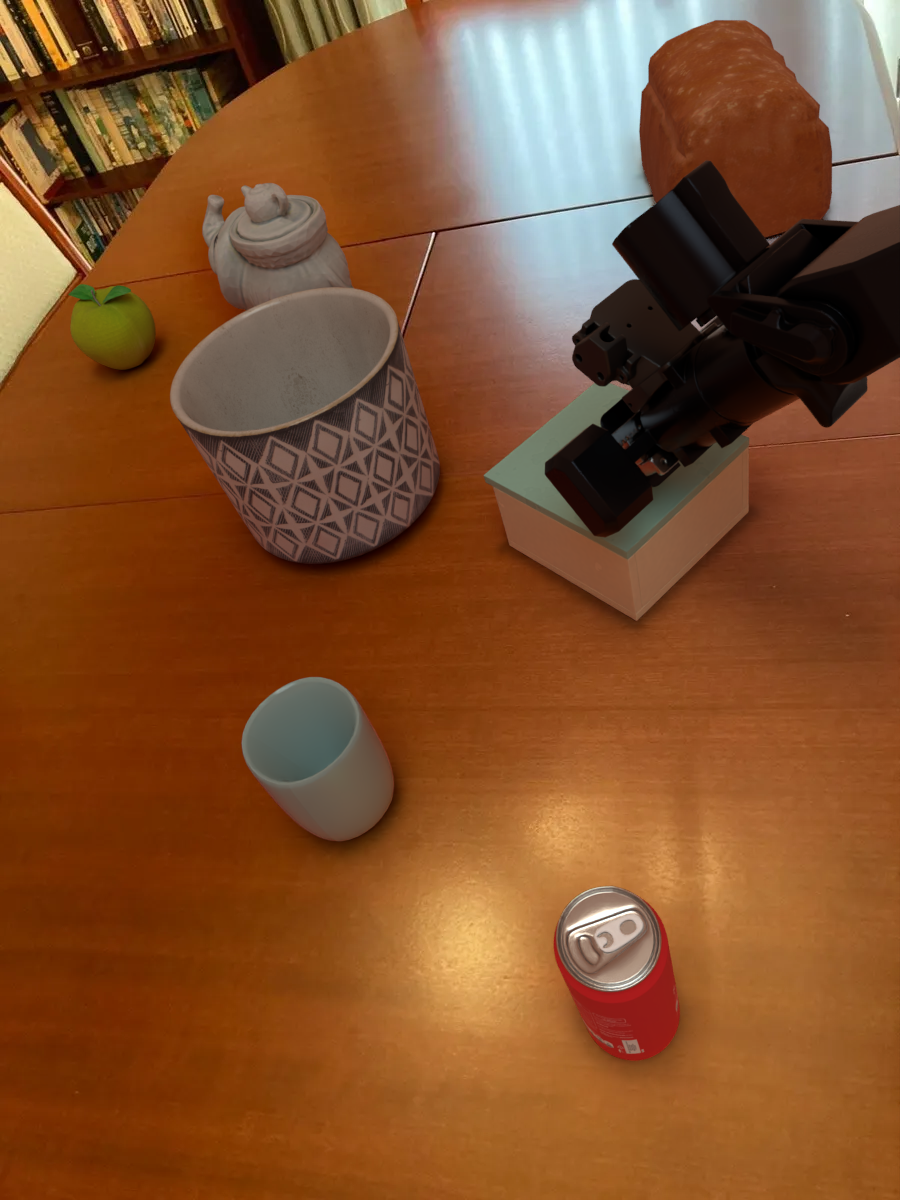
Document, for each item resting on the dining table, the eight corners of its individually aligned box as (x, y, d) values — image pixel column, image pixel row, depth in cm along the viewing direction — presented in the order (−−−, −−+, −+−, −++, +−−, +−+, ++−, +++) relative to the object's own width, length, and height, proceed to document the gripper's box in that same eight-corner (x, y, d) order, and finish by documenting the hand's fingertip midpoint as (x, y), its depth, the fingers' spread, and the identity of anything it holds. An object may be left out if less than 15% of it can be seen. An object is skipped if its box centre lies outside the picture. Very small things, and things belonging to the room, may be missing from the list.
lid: (485, 482, 69) (483, 475, 68) (600, 386, 73) (599, 378, 73) (627, 559, 60) (626, 552, 60) (749, 445, 64) (749, 437, 64)
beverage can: (568, 992, 50) (531, 913, 41) (648, 948, 50) (627, 861, 42) (615, 1084, 46) (585, 1019, 38) (700, 1036, 47) (690, 960, 38)
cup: (341, 880, 58) (283, 810, 50) (279, 808, 63) (218, 735, 55) (429, 799, 60) (385, 721, 53) (362, 735, 65) (314, 655, 57)
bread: (778, 128, 108) (782, -10, 97) (837, 223, 92) (850, 70, 81) (637, 164, 111) (625, 34, 100) (671, 262, 95) (661, 119, 84)
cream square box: (509, 545, 74) (492, 486, 69) (616, 451, 78) (607, 389, 73) (636, 621, 65) (627, 560, 60) (749, 511, 69) (749, 446, 64)
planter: (481, 443, 83) (436, 287, 71) (394, 597, 73) (324, 445, 61) (314, 427, 91) (249, 285, 79) (215, 563, 81) (123, 424, 69)
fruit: (129, 337, 115) (87, 267, 107) (182, 341, 110) (142, 269, 103) (85, 381, 110) (38, 311, 103) (138, 387, 106) (92, 315, 98)
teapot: (247, 321, 110) (176, 171, 96) (362, 283, 109) (306, 126, 95) (248, 395, 99) (168, 238, 85) (376, 354, 97) (316, 188, 84)
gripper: (751, 184, 53) (627, 302, 68) (539, 353, 47) (454, 441, 62) (861, 331, 54) (716, 415, 69) (666, 513, 48) (553, 562, 63)
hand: (612, 453), depth 66 cm, fingers closed
